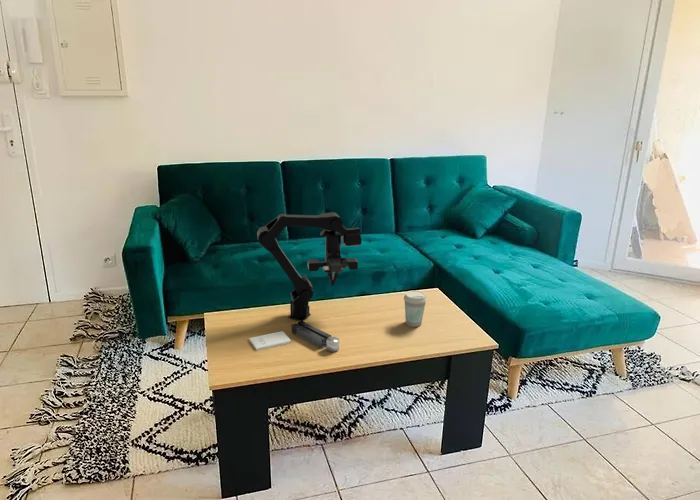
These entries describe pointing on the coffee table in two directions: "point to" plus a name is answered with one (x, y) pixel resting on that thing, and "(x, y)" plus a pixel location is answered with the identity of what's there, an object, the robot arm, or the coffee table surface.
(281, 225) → the robot arm
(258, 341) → the external hard drive
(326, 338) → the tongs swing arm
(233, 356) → the coffee table surface
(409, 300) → the coffee cup
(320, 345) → the tongs fixed arm
